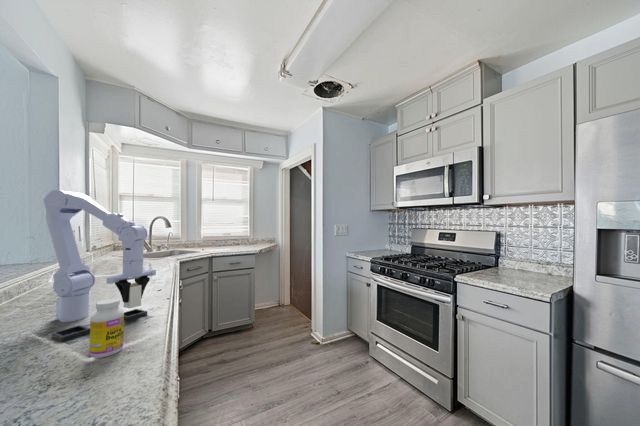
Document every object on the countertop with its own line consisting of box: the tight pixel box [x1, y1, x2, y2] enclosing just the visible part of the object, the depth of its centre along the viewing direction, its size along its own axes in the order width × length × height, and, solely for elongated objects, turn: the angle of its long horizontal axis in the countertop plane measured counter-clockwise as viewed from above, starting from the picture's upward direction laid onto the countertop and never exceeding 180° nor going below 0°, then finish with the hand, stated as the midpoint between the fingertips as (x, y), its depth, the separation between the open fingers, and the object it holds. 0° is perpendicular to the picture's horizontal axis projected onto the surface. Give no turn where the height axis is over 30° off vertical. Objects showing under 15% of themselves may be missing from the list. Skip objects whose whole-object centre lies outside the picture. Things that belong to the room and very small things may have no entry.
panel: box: [46, 308, 155, 346], centre depth 81 cm, size 14×22×2 cm, turn 154°
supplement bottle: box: [89, 298, 125, 359], centre depth 66 cm, size 7×7×13 cm
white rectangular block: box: [123, 282, 142, 309], centre depth 88 cm, size 4×4×8 cm
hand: (132, 300), depth 88 cm, fingers closed on white rectangular block, 4 cm apart
